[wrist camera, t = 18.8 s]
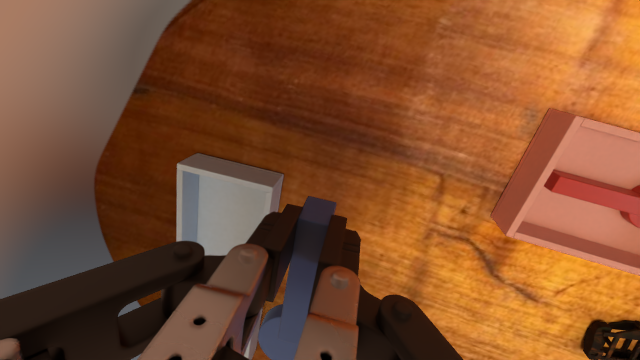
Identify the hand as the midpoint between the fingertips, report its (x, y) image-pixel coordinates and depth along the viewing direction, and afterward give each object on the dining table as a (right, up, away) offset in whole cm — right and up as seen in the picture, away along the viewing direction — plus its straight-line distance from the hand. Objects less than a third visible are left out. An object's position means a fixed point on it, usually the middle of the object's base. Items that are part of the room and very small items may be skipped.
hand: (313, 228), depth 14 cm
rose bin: (+24, +1, +12) cm, 27 cm away
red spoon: (+24, +1, +12) cm, 27 cm away
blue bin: (-10, -7, +22) cm, 25 cm away
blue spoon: (0, -3, +3) cm, 4 cm away
